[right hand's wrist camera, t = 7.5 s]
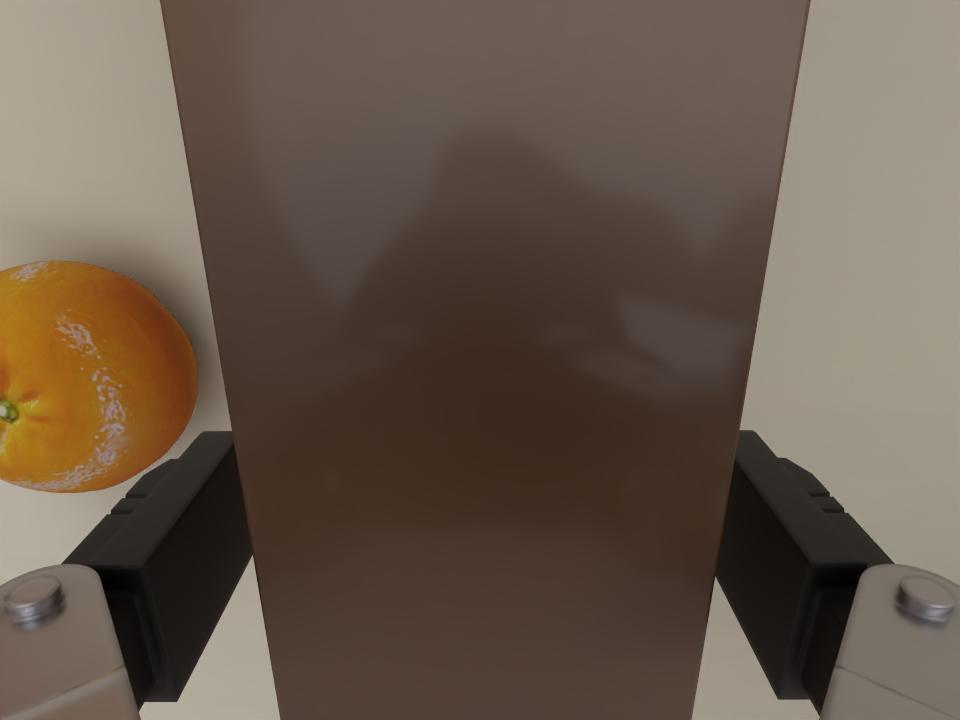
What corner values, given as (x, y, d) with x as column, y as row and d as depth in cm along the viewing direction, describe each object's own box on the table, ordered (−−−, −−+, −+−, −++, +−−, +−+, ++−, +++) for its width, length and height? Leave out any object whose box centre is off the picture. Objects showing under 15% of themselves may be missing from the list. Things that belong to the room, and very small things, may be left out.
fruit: (-82, 206, 21) (-166, 404, 16) (198, 228, 24) (193, 399, 20) (-16, 361, 27) (-64, 536, 23) (201, 362, 30) (197, 516, 26)
